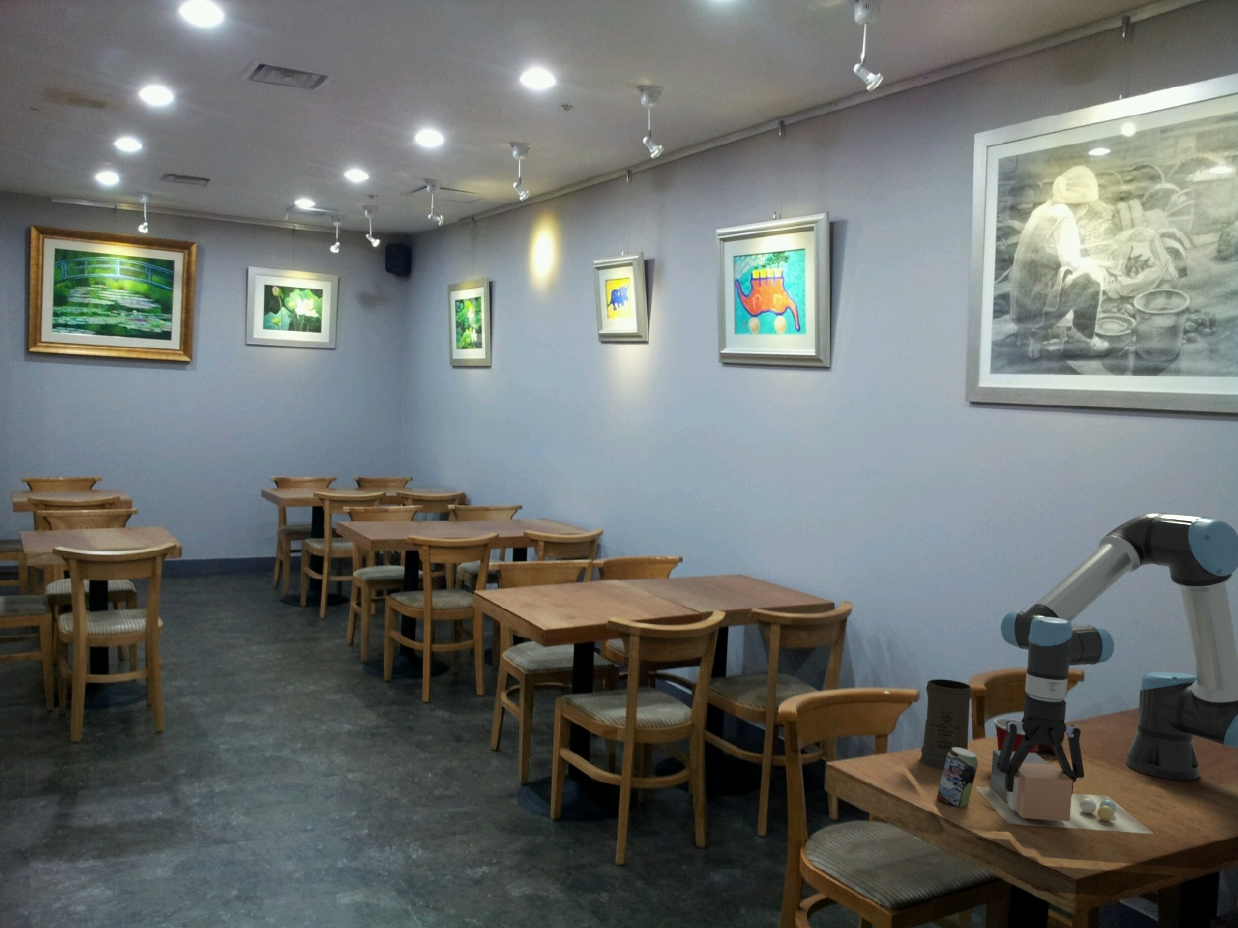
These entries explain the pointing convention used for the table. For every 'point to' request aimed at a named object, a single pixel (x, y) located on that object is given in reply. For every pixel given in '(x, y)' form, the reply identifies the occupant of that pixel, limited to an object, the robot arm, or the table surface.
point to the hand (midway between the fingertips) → (1037, 809)
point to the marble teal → (1108, 804)
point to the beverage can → (957, 777)
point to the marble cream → (1087, 805)
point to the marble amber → (1105, 813)
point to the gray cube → (999, 777)
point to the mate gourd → (1048, 747)
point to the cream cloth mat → (1077, 816)
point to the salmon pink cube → (1043, 792)
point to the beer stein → (945, 720)
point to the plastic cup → (1002, 731)
